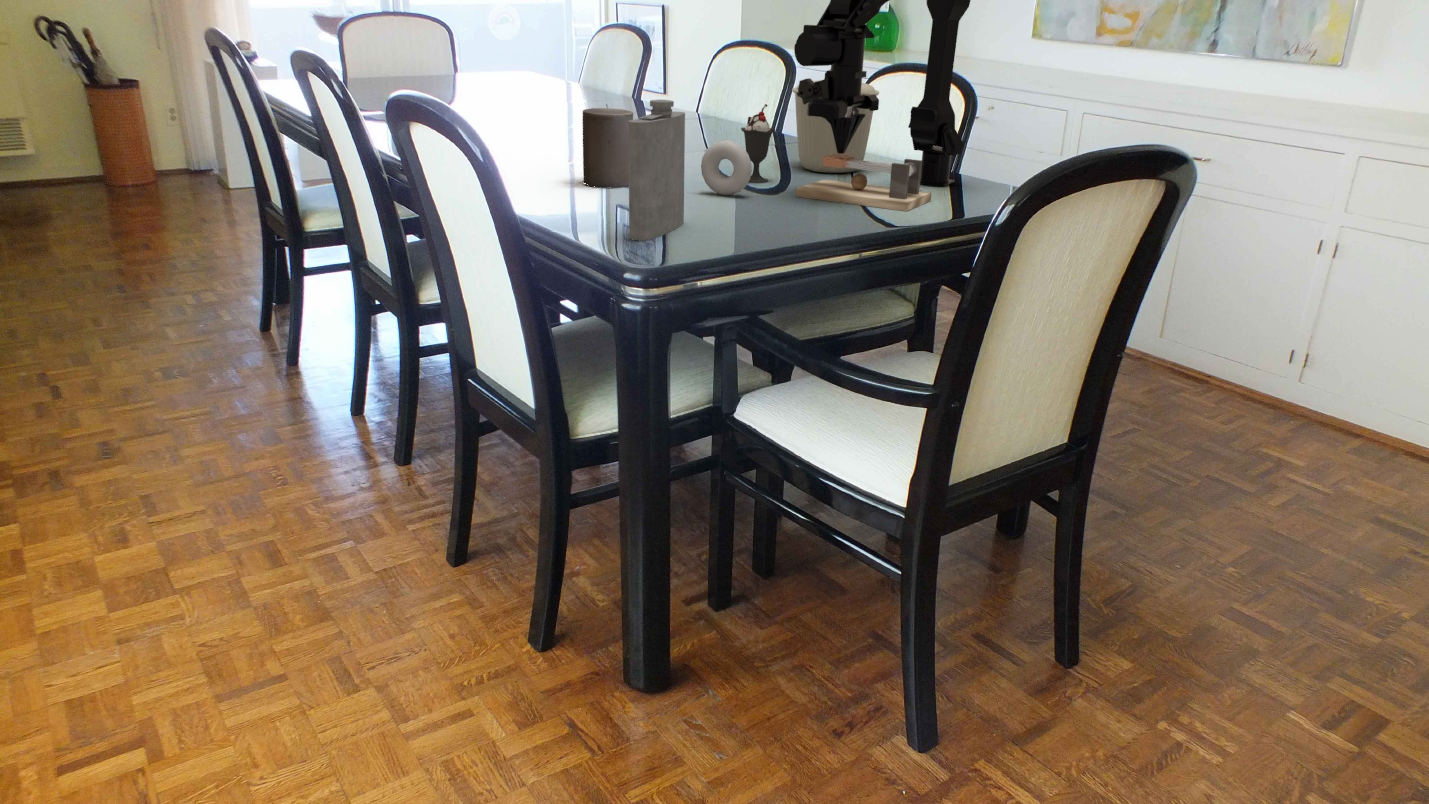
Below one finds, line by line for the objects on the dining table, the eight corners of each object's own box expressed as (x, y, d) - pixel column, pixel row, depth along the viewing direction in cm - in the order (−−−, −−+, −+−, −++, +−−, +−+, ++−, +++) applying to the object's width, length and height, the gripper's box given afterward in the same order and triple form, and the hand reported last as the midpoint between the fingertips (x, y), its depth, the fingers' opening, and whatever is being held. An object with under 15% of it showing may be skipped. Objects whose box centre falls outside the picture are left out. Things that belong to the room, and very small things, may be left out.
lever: (833, 165, 196) (834, 152, 195) (917, 176, 188) (918, 162, 187) (822, 168, 192) (823, 155, 191) (906, 179, 184) (908, 166, 183)
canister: (773, 165, 226) (777, 63, 218) (844, 161, 233) (851, 63, 225) (815, 179, 211) (821, 70, 203) (889, 174, 218) (898, 69, 210)
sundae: (770, 184, 204) (773, 105, 198) (736, 182, 205) (739, 104, 199) (775, 178, 210) (778, 102, 204) (742, 177, 211) (745, 100, 205)
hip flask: (669, 220, 171) (670, 94, 164) (691, 222, 170) (693, 96, 162) (625, 239, 158) (624, 103, 150) (649, 242, 156) (649, 105, 149)
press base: (823, 187, 202) (825, 148, 200) (930, 200, 192) (934, 159, 189) (795, 196, 193) (797, 155, 190) (906, 211, 182) (910, 168, 180)
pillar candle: (573, 185, 198) (572, 104, 192) (597, 177, 207) (597, 99, 201) (619, 190, 195) (619, 108, 189) (641, 182, 203) (642, 103, 198)
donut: (753, 196, 192) (755, 141, 188) (746, 199, 189) (748, 143, 185) (705, 191, 196) (706, 137, 192) (697, 194, 193) (698, 139, 189)
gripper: (828, 60, 197) (823, 143, 203) (783, 65, 182) (778, 155, 188) (883, 63, 192) (876, 149, 198) (840, 68, 177) (834, 161, 183)
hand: (840, 153), depth 192 cm, fingers closed
